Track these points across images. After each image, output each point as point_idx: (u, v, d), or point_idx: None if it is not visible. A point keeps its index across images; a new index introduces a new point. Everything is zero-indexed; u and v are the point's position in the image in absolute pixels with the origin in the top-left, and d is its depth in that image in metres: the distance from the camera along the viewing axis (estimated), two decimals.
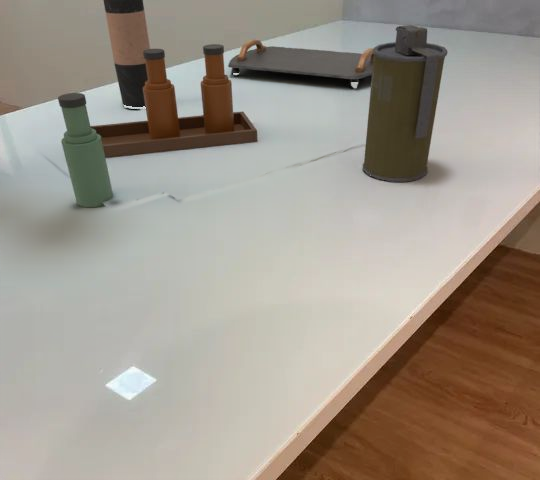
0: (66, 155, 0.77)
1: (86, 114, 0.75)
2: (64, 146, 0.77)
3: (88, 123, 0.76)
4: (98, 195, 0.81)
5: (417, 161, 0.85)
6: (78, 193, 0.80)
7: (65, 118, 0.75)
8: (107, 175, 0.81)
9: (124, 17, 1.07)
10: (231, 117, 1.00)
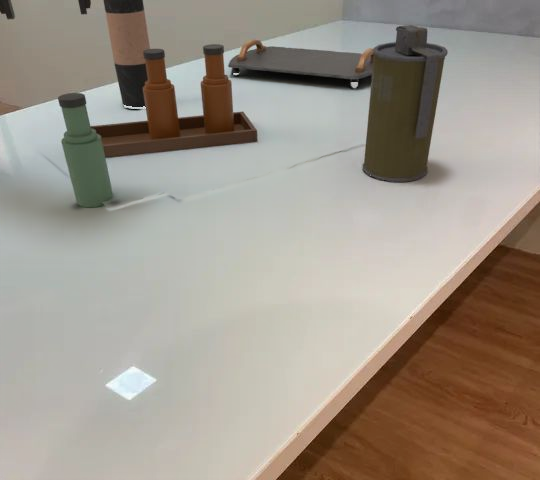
0: (66, 155, 0.77)
1: (86, 114, 0.75)
2: (64, 146, 0.77)
3: (88, 123, 0.76)
4: (98, 195, 0.81)
5: (417, 161, 0.85)
6: (78, 193, 0.80)
7: (65, 118, 0.75)
8: (107, 175, 0.81)
9: (124, 17, 1.07)
10: (231, 117, 1.00)
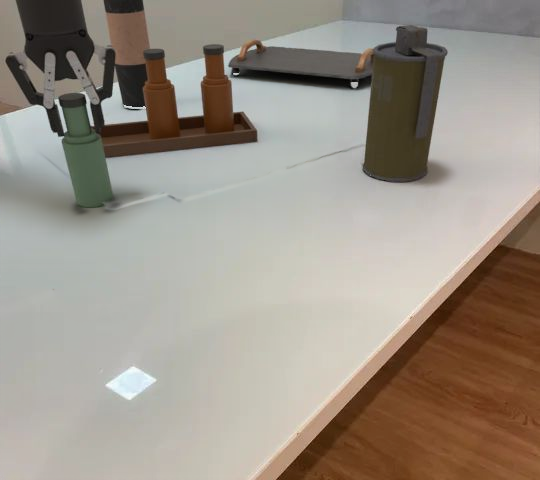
0: (66, 155, 0.77)
1: (86, 114, 0.75)
2: (64, 146, 0.77)
3: (88, 123, 0.76)
4: (98, 195, 0.81)
5: (417, 161, 0.85)
6: (78, 193, 0.80)
7: (65, 118, 0.75)
8: (107, 175, 0.81)
9: (124, 17, 1.07)
10: (231, 117, 1.00)
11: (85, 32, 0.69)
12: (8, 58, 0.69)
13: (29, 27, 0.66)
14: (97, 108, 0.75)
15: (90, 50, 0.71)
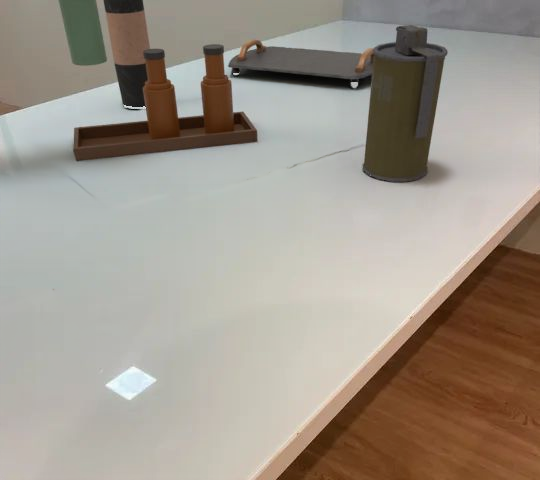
0: (62, 9, 0.82)
1: None
2: None
3: None
4: (92, 53, 0.86)
5: (417, 161, 0.85)
6: (73, 50, 0.86)
7: None
8: (101, 34, 0.86)
9: (124, 17, 1.07)
10: (231, 117, 1.00)
11: None
12: None
13: None
14: None
15: None
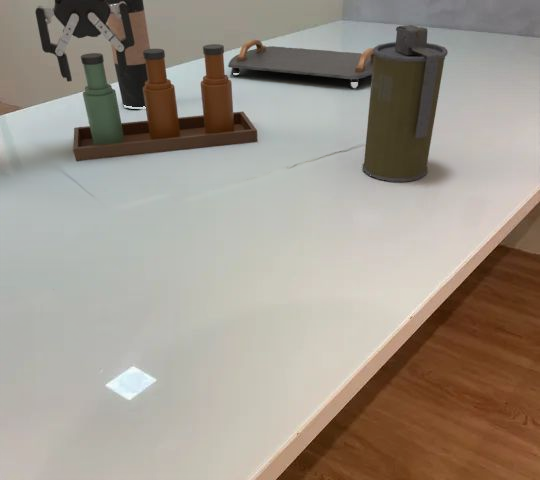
0: (87, 105, 0.93)
1: (103, 70, 0.91)
2: (85, 97, 0.93)
3: (105, 78, 0.92)
4: (113, 141, 0.97)
5: (417, 161, 0.85)
6: (96, 138, 0.96)
7: (86, 73, 0.91)
8: (120, 124, 0.97)
9: None
10: (231, 117, 1.00)
11: None
12: (38, 9, 0.84)
13: None
14: (122, 55, 0.91)
15: (107, 12, 0.86)
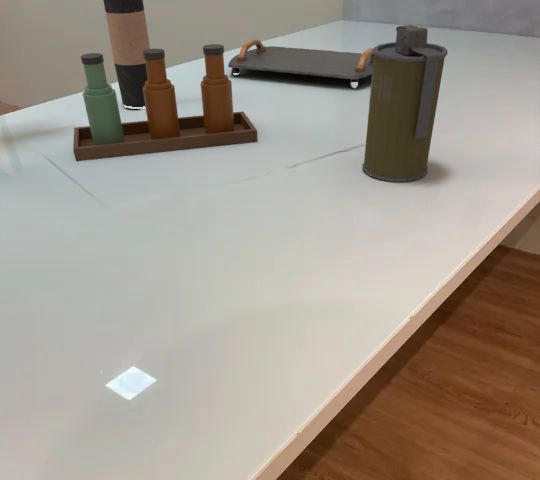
0: (87, 105, 0.93)
1: (103, 70, 0.91)
2: (85, 97, 0.93)
3: (105, 78, 0.92)
4: (113, 141, 0.97)
5: (417, 161, 0.85)
6: (96, 138, 0.96)
7: (86, 73, 0.91)
8: (120, 124, 0.97)
9: (124, 17, 1.07)
10: (231, 117, 1.00)
11: None
12: None
13: None
14: None
15: None
